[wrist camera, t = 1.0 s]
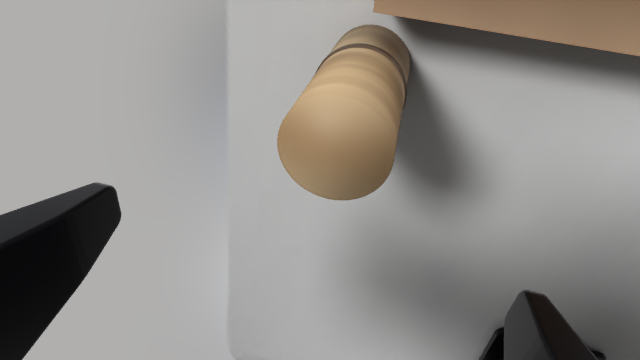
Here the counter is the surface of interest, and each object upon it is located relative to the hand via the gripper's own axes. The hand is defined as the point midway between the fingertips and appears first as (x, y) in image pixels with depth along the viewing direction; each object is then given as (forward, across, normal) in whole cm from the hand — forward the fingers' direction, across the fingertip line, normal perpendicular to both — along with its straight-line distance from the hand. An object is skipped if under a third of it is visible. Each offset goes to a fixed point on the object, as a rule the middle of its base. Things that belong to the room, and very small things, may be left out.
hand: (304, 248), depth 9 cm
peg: (+12, 0, 0) cm, 12 cm away
